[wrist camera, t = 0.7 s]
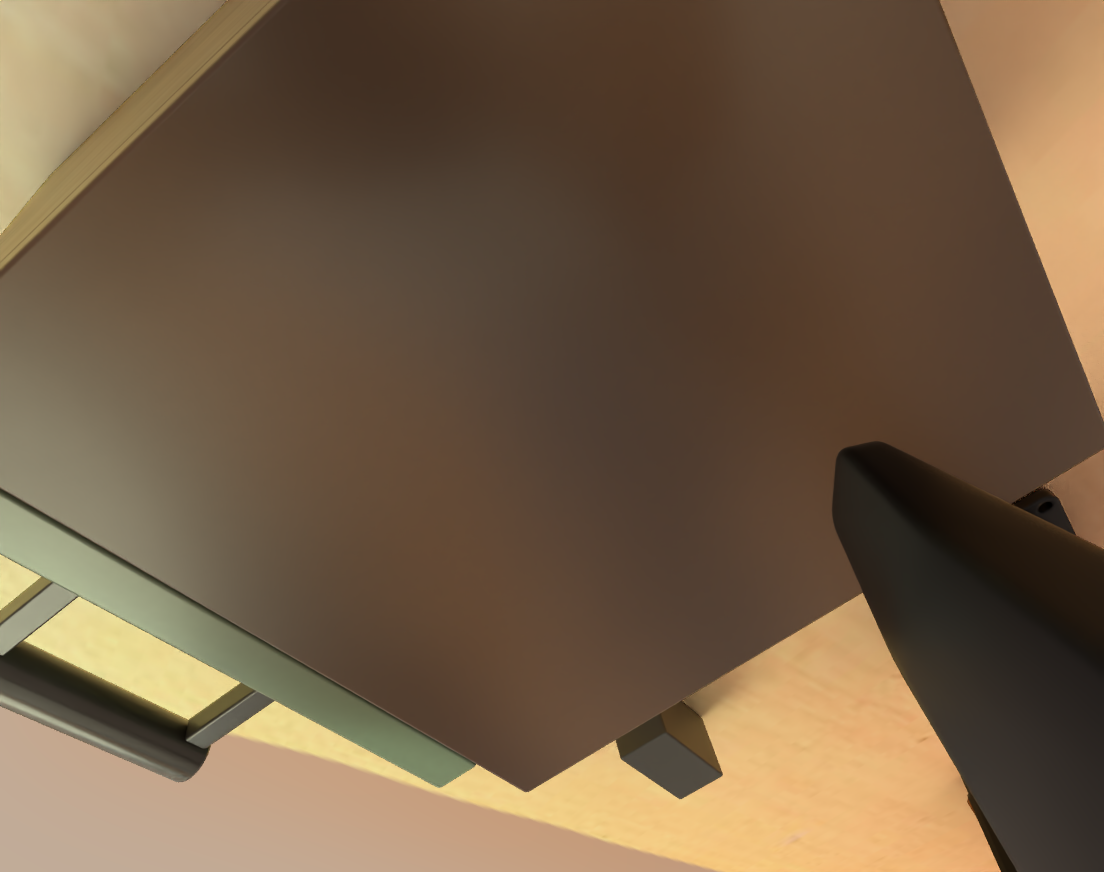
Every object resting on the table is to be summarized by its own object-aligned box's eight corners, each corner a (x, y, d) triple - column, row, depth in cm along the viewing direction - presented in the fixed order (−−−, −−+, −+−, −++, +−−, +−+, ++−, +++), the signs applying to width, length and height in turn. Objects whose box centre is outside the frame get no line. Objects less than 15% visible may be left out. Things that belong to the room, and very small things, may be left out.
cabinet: (483, 533, 27) (526, 794, 20) (47, 177, 18) (-145, 408, 11) (887, 250, 23) (1114, 444, 16) (574, -342, 15) (761, -467, 8)
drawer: (302, 663, 27) (286, 884, 22) (-140, 407, 20) (-336, 646, 14) (791, 320, 23) (930, 487, 17) (464, -175, 15) (524, -161, 10)
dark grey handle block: (702, 717, 34) (724, 775, 32) (661, 741, 35) (680, 800, 33) (568, 608, 29) (584, 669, 27) (522, 638, 30) (534, 701, 28)
